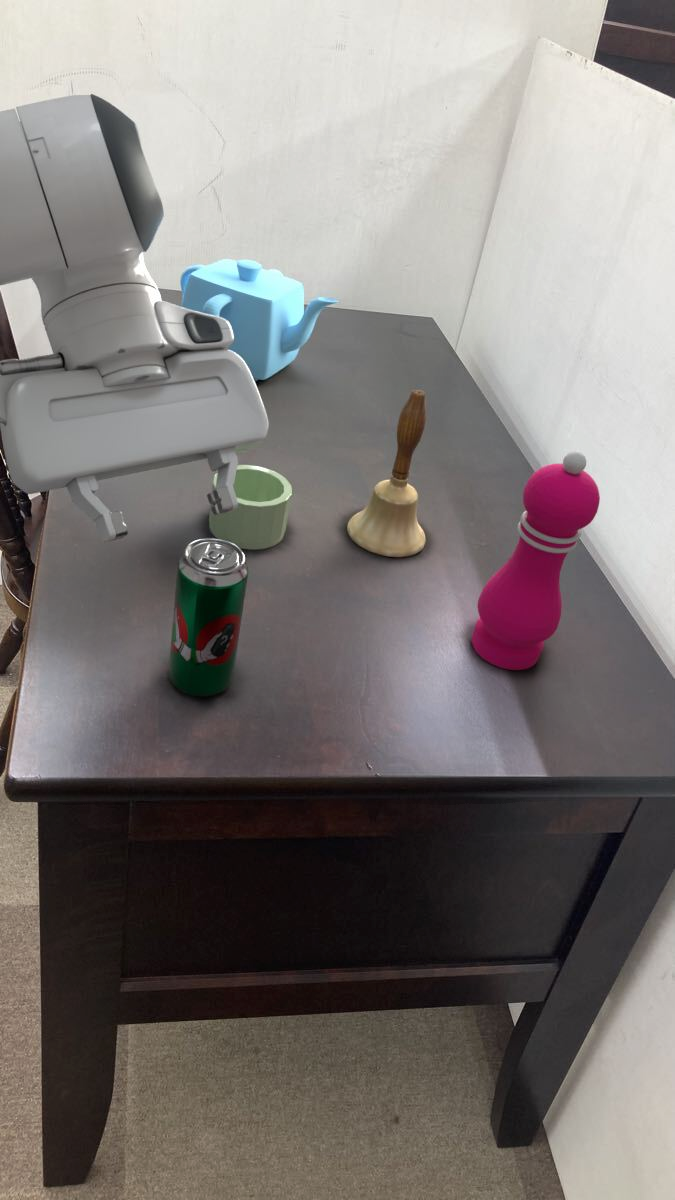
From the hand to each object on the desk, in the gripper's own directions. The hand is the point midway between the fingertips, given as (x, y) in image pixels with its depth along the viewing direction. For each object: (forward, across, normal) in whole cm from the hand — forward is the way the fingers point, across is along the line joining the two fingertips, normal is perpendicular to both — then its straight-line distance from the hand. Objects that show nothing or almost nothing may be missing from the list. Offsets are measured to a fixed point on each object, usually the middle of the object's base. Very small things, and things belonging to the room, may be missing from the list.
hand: (173, 524), depth 67 cm
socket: (0, +16, +16) cm, 23 cm away
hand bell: (+5, +29, +12) cm, 31 cm away
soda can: (+12, 0, +4) cm, 13 cm away
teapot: (-23, +38, +40) cm, 60 cm away
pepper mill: (+18, +27, -2) cm, 32 cm away
